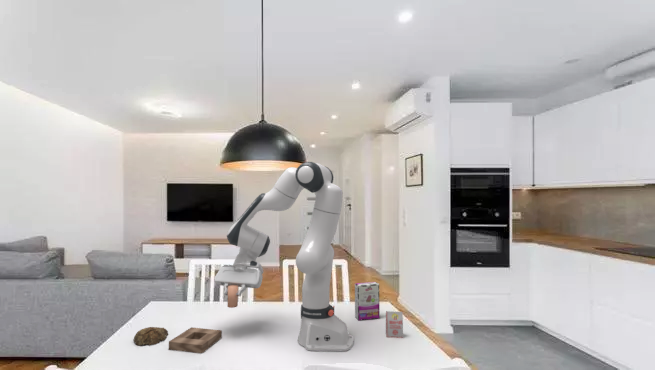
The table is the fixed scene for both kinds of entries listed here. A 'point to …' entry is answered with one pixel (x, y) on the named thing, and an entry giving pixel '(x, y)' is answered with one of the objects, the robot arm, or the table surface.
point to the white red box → (394, 324)
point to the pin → (232, 296)
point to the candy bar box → (367, 301)
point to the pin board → (195, 340)
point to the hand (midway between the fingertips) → (232, 295)
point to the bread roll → (150, 336)
